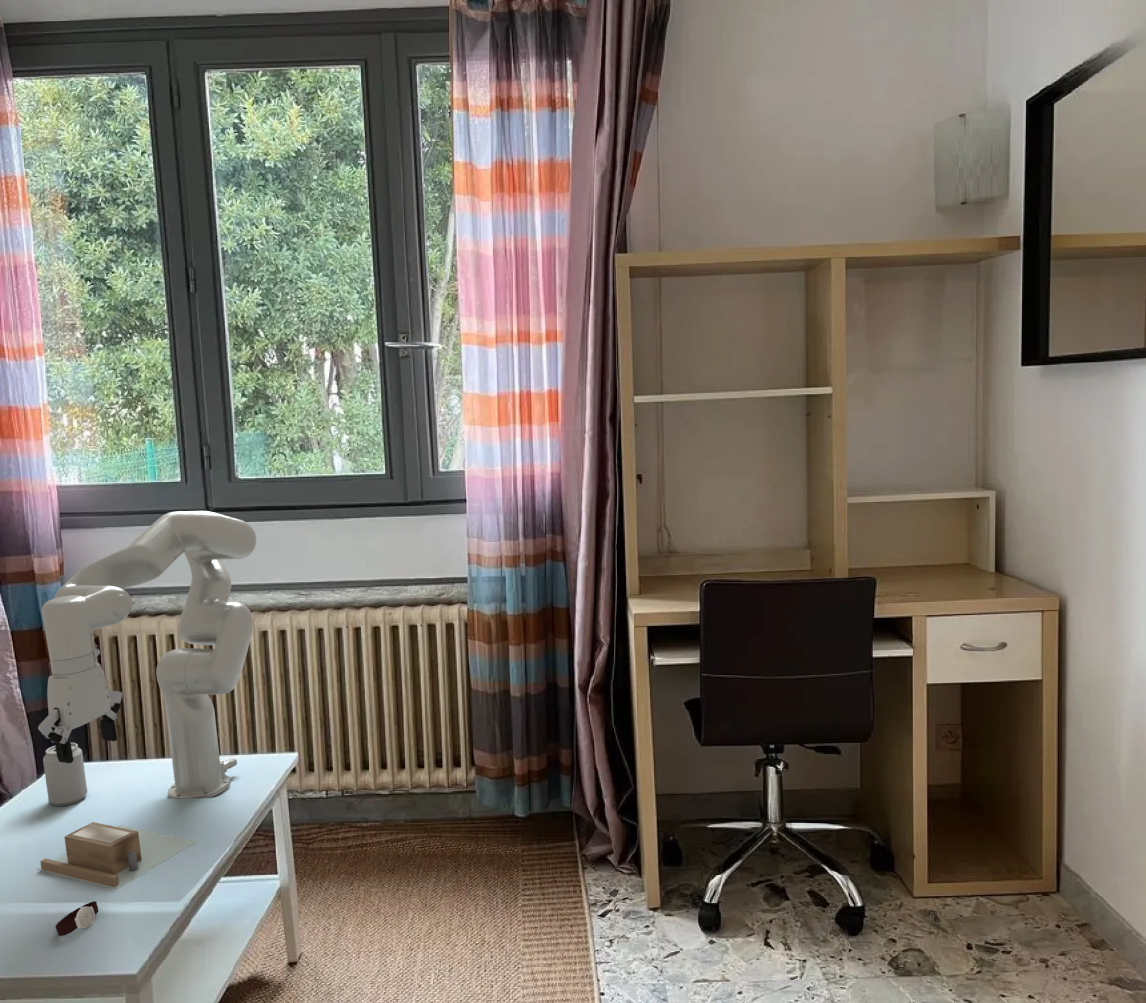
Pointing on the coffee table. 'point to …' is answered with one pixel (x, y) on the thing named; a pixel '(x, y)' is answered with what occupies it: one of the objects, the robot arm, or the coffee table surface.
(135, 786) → the coffee table surface
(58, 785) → the can
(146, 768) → the coffee table surface
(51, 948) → the coffee table surface
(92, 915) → the watch
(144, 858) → the wall board
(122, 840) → the wooden box
